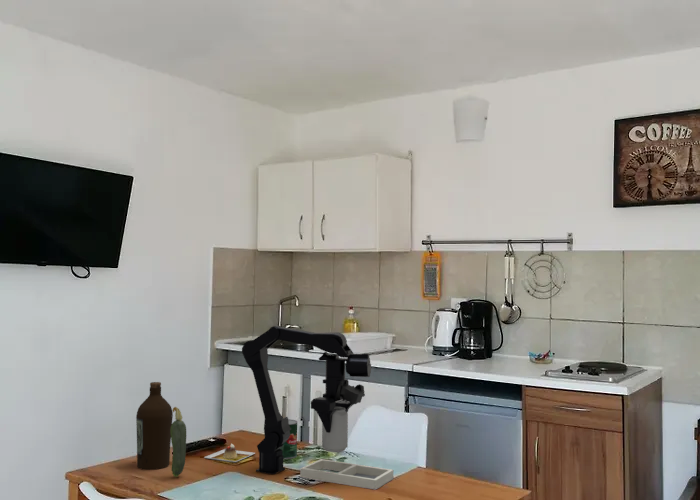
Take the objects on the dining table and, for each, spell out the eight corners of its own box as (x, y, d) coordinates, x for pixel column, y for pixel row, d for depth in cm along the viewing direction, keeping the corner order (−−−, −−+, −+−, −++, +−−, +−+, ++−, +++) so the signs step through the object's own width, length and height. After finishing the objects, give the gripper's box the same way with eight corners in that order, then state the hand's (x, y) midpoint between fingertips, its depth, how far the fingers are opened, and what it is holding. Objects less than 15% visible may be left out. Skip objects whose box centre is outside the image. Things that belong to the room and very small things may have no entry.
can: (348, 446, 198) (349, 405, 198) (346, 453, 190) (346, 410, 191) (323, 446, 198) (324, 405, 199) (320, 452, 191) (320, 409, 192)
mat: (341, 482, 187) (341, 481, 187) (356, 474, 196) (356, 473, 196) (373, 487, 183) (373, 486, 183) (387, 479, 191) (387, 478, 191)
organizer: (300, 477, 192) (300, 468, 192) (321, 467, 203) (321, 459, 203) (375, 489, 181) (375, 480, 181) (393, 478, 192) (393, 469, 192)
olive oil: (168, 460, 209) (170, 379, 210) (173, 468, 199) (175, 384, 201) (133, 463, 205) (135, 381, 206) (136, 472, 195) (139, 386, 197)
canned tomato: (295, 459, 212) (296, 424, 212) (271, 458, 212) (271, 423, 213) (298, 453, 220) (298, 419, 220) (274, 452, 220) (274, 419, 220)
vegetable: (188, 476, 191) (189, 406, 192) (179, 480, 187) (181, 408, 188) (174, 475, 193) (176, 405, 194) (166, 479, 189) (168, 407, 190)
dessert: (203, 460, 211) (203, 445, 211) (224, 452, 222) (225, 437, 222) (235, 465, 206) (236, 449, 206) (256, 456, 217) (256, 441, 217)
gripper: (344, 381, 183) (344, 439, 183) (373, 374, 200) (373, 426, 199) (309, 379, 189) (309, 435, 188) (340, 371, 205) (340, 423, 204)
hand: (334, 429), depth 195 cm, fingers closed on can, 7 cm apart
